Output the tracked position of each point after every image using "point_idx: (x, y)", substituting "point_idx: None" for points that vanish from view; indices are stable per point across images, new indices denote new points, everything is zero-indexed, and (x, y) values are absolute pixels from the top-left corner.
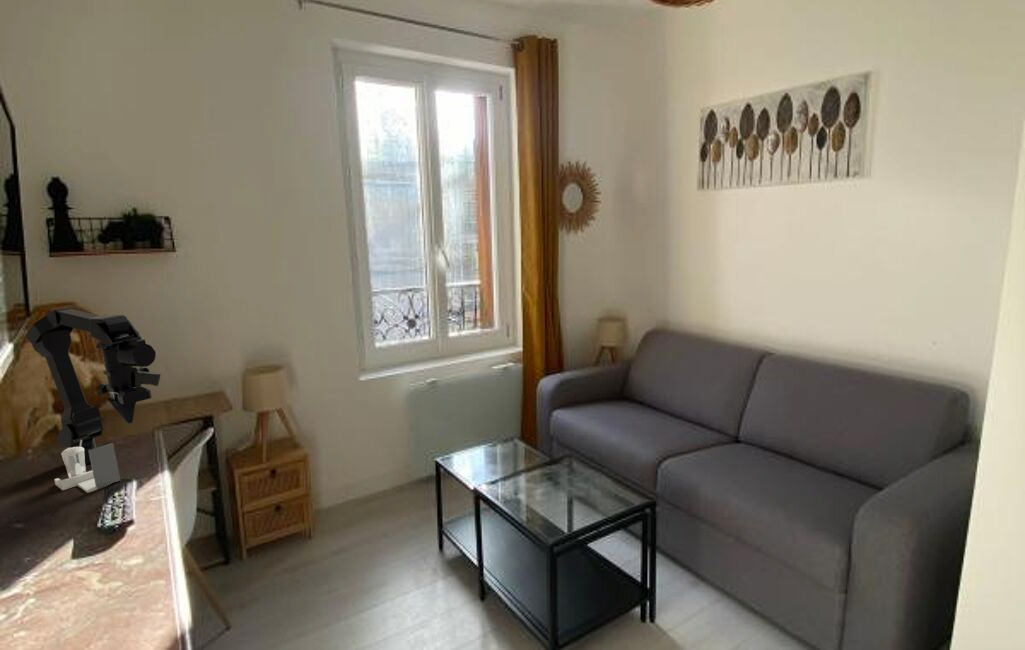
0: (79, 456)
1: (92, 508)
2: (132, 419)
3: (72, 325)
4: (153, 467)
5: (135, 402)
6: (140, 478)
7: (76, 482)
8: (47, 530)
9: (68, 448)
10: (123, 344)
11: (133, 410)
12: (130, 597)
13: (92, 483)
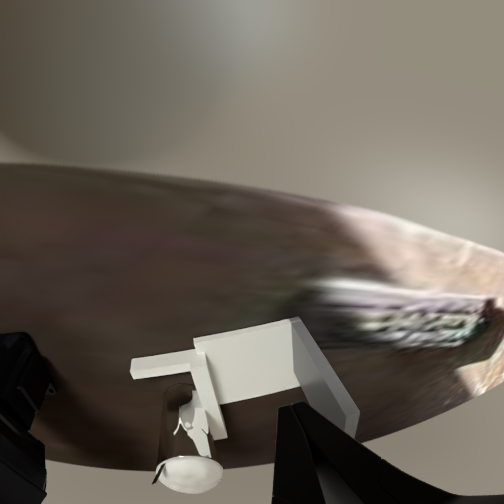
0: (215, 454)
1: (394, 362)
2: (320, 414)
3: None
4: (257, 213)
5: (462, 500)
6: (325, 266)
7: (219, 406)
8: (401, 405)
9: (179, 489)
10: None
11: (383, 462)
12: None
13: (260, 378)
